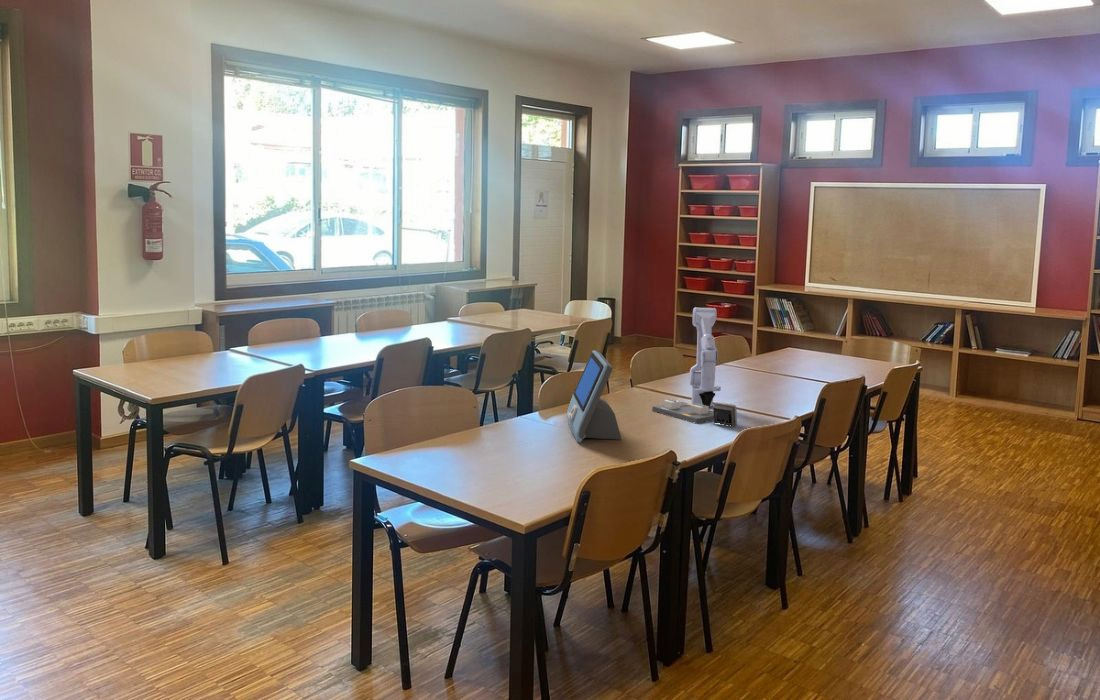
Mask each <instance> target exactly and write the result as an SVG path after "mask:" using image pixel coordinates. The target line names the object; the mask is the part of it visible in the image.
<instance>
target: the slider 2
mask: <svg viewBox="0 0 1100 700" xmlns="http://www.w3.org/2000/svg"><path fill="white" fill-rule="evenodd" d="M709 409H710V407H709V406H706V405H702V404H698V403H696V405H692V410H691V412H692V413H696V414H699V415H701V414H707V413H708V411H709Z"/></svg>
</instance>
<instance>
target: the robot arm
mask: <svg viewBox="0 0 1100 700" xmlns="http://www.w3.org/2000/svg"><path fill="white" fill-rule="evenodd" d="M717 312H718V311H717V309H716V308H715V307H713V308H712V307H696V306H695V307H694V308H693V309H692V326H694V327H695V328H696V334H697V337H696V339H697V340H696V343H697V344H696V363H695V364H694V365H693V366H691V367H690V369H689V374H688V375H689V377H688V378H689V379H688V383H689V385H690V386H692V387H691V403H690V402H689V404H693V405H696V403H698V404H702V405H706V406H709V408H710V407H711V408H712V407H714V398H715V396H716V393H715V392H721V390H722V389H721V387H722V386H720V385H715V382H716V366H717V365H716V364H717V363H718V359H719V358H718V357H719V354H718V349H717V347H716V341H715V337H714V335H713V334H712V330H713V329H712V327H714V324H715V323H716V320H717V315H718V314H717Z"/></svg>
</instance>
